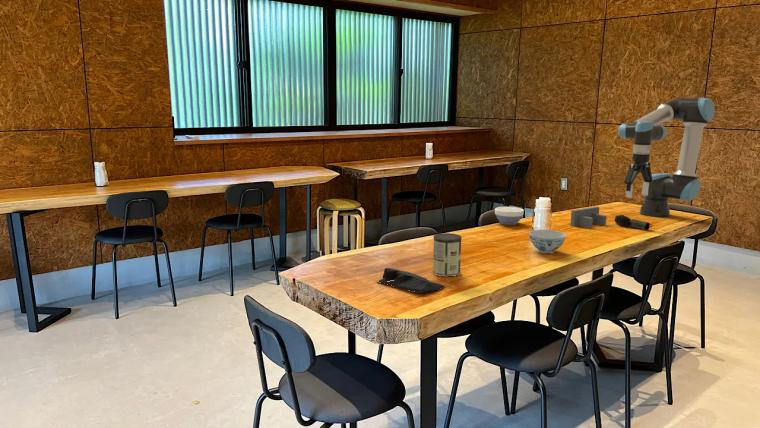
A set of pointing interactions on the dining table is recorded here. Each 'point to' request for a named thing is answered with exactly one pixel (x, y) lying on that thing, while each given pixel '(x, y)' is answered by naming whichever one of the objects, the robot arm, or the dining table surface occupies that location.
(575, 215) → the socket block
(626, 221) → the black flashlight
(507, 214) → the bowl
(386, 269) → the black cloth
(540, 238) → the chinaware
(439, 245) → the coffee can
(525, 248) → the dining table surface
